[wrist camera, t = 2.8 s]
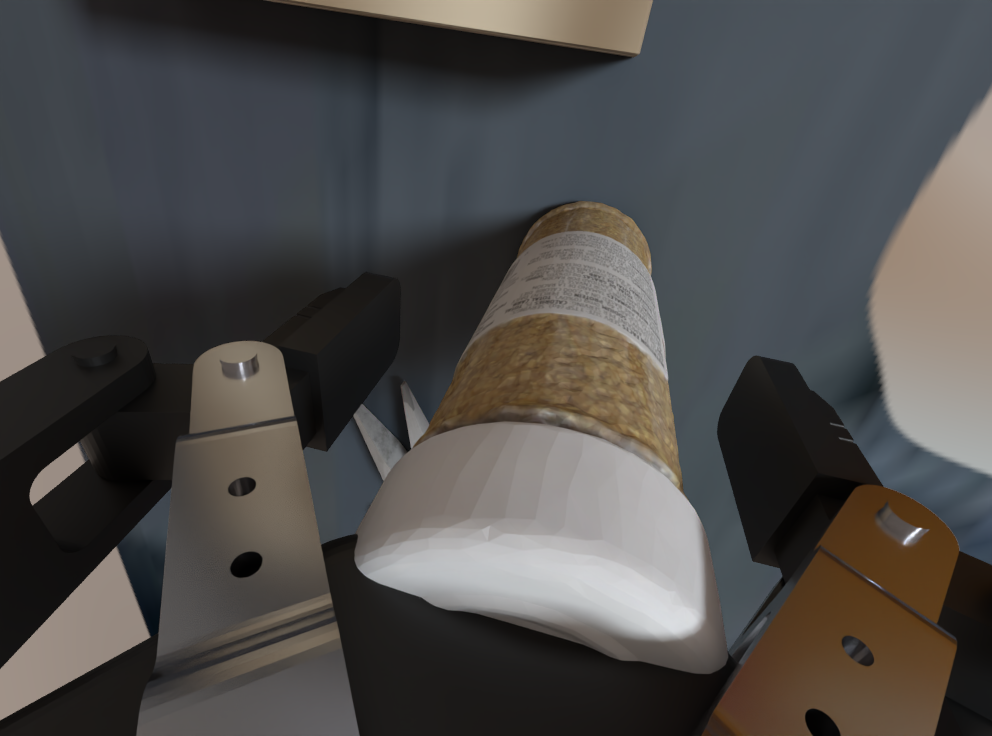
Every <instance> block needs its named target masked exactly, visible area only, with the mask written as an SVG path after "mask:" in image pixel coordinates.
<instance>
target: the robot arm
mask: <svg viewBox="0 0 992 736" xmlns="http://www.w3.org/2000/svg"><path fill="white" fill-rule="evenodd" d="M400 295H401V289H400V283H399V280H398V279H396V278H392V277H387V276H382V275H378V274H373V273H368V272H365V273H364V274H362V275H361V276H360V277H359V278H358V279H356V280H355V281H354V282H353V283H352V284H350V285H349V286H348V287H347V288H346V289H345V288H338V289H335V290H333V291H330V292H327V293H324V294H322V295H320V296H319V297H318V298H316V299H315V300H314V301H313V302H311V303H310V304H309V305H308V307H307V308H306V307H305V308H304V309H302V310H301V311H300V312H299V313H297V316H294V317H292V318H291V319H290V320H289V321H287V322H286V323H285V324H284V325H282V326H281V327H280V328H279V329H277V330H276V331H275V332H274V333H272V334H271V335H270V336H269V337H267V338H266V339H265V340H264V341H262V342H257V341H238V342H231V343H227V344H223V345H220V346H217V347H214V348H212V349H210V350H208V351H207V352H205V353H203V354H202V355H201V356H200V357H199V358H198V359H197V360H196V362H195V363H194V364H157V363H152V360H151V357H150V354H149V351H148V348H147V346H146V345H145V343H144V342H142V341H141V340H139V339H136V338H133V337H128V336H117V335H113V336H99V337H93V338H88V339H84V340H80V341H77V342H74V343H71V344H68V345H66V346H64V347H62V348H60V349H58V350H56V351H54V352H52V353H51V354H49V355H47V356H45V357H43V358H42V359H40V360H38V361H36V362H35V363H33V364H31V365H29V366H27V367H26V368H24V369H22V370H20V371H18V372H17V373H15V374H13V375H12V376H10V377H8V378H6V379H4V380H3V381H1V382H0V669H1V667H2V666H3V665H4V664H5V663H6V662H7V661H8V660H9V659H10V658H11V657H12V656H13V655H14V654H15V653H16V652H17V650H18V649H19V648H20V647H21V646H22V645H23V644H24V643H25V642H26V641H27V640H28V639H29V638H30V637H31V636H32V635H33V634H34V633H35V631H36V630H37V629H38V628H39V627H40V626H41V625H42V624H43V623H44V622H45V621H46V620H47V619H48V618H49V617H50V616H51V615H52V613H53V612H54V611H55V610H56V609H57V608H58V607H59V606H60V605H61V604H62V603H63V602H64V601H65V600H66V599H67V597H69V595H70V594H71V593H72V592H73V591H74V590H75V589H76V588H77V587H78V586H79V585H80V584H81V583H82V582H83V581H84V580H85V579H86V577H87V576H88V575H89V574H90V573H91V572H92V571H93V570H94V569H95V568H96V567H97V566H98V565H99V564H100V563H101V562H102V561H103V559H104V558H105V557H106V556H107V555H108V554H109V553H110V552H111V551H112V550H113V549H114V548H115V547H116V546H117V545H118V544H119V543H120V541H121V540H122V539H123V538H124V537H125V536H126V535H127V534H128V533H129V532H130V531H131V530H132V529H133V528H134V527H135V526H136V525H137V524H138V522H139V521H140V520H141V519H142V518H143V517H144V516H145V515H146V514H147V513H148V512H149V511H150V510H151V509H152V508H153V507H154V506H155V504H156V503H157V502H158V501H159V500H160V499H161V498H162V497H163V496H164V495H165V494H166V493H167V492H168V491H169V490H170V489H171V488H172V489H171V501H170V512H169V523H168V534H167V546H166V557H165V568H164V580H163V591H162V602H161V613H160V625H159V633H158V634H156V635H154V636H152V637H151V638H149V639H147V640H145V641H143V642H142V643H140V644H138V645H136V646H134V647H132V648H131V649H129V650H127V651H125V652H123V653H122V654H120V655H118V656H116V657H114V658H113V659H111V660H109V661H107V662H105V663H104V664H102V665H100V666H98V667H96V668H94V669H93V670H91V671H89V672H87V673H85V674H84V675H82V676H80V677H78V678H77V679H75V680H73V681H71V682H69V683H67V684H66V685H64V686H62V687H60V688H58V689H57V690H55V691H53V692H51V693H49V694H47V695H46V696H44V697H42V698H40V699H38V700H37V701H35V702H33V703H31V704H29V705H28V706H26V707H24V708H22V709H20V710H19V711H17V712H15V713H13V714H11V715H9V716H8V717H6V718H4V719H2V720H0V736H992V565H990V564H988V563H986V562H984V561H981V560H979V559H977V558H974V557H972V556H970V555H968V554H965V553H963V552H961V551H959V545H958V542H957V539H956V537H955V536H954V534H953V533H952V531H951V530H950V529H949V528H948V526H947V525H946V524H945V523H944V522H943V521H942V520H941V519H940V518H939V517H938V516H937V515H935V514H934V513H933V512H932V511H930V510H929V509H928V508H926V507H925V506H923V505H922V504H920V503H919V502H917V501H915V500H914V499H912V498H910V497H908V496H906V495H904V494H902V493H900V492H897V491H895V490H892V489H889V488H886V487H883V485H882V483H881V482H880V480H879V479H878V477H877V476H876V474H875V472H874V471H873V469H872V468H871V466H870V465H869V463H868V461H867V460H866V458H865V457H864V455H863V454H862V452H861V451H860V449H859V447H858V446H857V444H855V443H853V438H852V436H851V435H850V433H849V432H848V430H847V429H845V428H844V424H843V422H842V421H841V419H840V418H839V416H838V415H837V413H836V411H835V410H834V408H833V407H832V406H830V405H829V404H828V403H827V402H826V401H825V400H823V399H822V398H821V397H820V396H819V395H818V394H816V393H815V392H814V391H812V390H810V389H809V387H808V386H807V384H806V382H805V381H804V379H803V377H802V376H801V374H800V372H799V371H798V369H797V367H796V366H795V365H794V364H793V363H789V362H784V361H779V360H775V359H770V358H765V357H761V356H753V357H752V358H751V359H750V360H749V361H748V362H747V364H746V365H745V367H744V369H743V371H742V373H741V375H740V377H739V379H738V381H737V383H736V384H735V386H734V388H733V390H732V392H731V394H730V396H729V398H728V400H727V402H726V404H725V406H724V408H723V410H722V412H721V414H720V417H719V421H718V428H717V435H718V440H719V444H720V447H721V451H722V454H723V458H724V462H725V465H726V469H727V472H728V476H729V479H730V483H731V486H732V490H733V494H734V497H735V501H736V504H737V508H738V511H739V515H740V518H741V522H742V526H743V529H744V533H745V536H746V540H747V543H748V547H749V550H750V554H751V558H752V561H753V562H757V563H761V564H765V565H769V566H773V567H777V568H780V570H781V573H782V577H781V579H780V580H779V581H778V582H777V583H776V585H775V586H774V587H773V588H772V590H771V591H770V593H769V594H768V596H767V597H766V598H765V600H764V601H763V603H762V604H761V606H760V607H759V608H758V610H757V611H756V613H755V614H754V616H753V617H752V618H751V620H750V621H749V623H748V624H747V625H746V627H745V628H744V630H743V631H742V633H741V634H740V635H739V637H738V638H737V640H736V641H735V643H734V644H733V645H732V647H731V648H730V650H729V651H728V659H727V662H726V665H725V666H723V667H722V668H721V669H720V670H718V671H715V672H713V673H711V674H695V673H690V672H685V671H681V670H676V669H672V668H668V667H663V666H659V665H655V664H651V663H647V662H642V661H621V660H618V659H615V658H612V657H609V656H607V655H605V654H603V653H601V652H599V651H597V650H595V649H592V648H590V647H588V646H585V645H583V644H580V643H577V642H573V641H570V640H566V639H563V638H560V637H556V636H553V635H549V634H546V633H543V632H539V631H536V630H532V629H529V628H525V627H522V626H518V625H515V624H512V623H508V622H505V621H501V620H498V619H494V618H491V617H487V616H484V615H480V614H477V613H471V612H465V611H453V610H446V609H443V608H440V607H436V606H434V605H432V604H430V603H429V602H427V601H426V600H424V599H423V598H422V597H419V596H416V595H412V594H409V593H406V592H403V591H400V590H397V589H394V588H391V587H388V586H385V585H382V584H379V583H377V582H375V581H373V580H371V579H370V578H368V577H366V576H365V575H364V574H363V573H362V572H361V571H360V570H359V569H358V568H357V566H356V563H355V560H354V557H355V553H354V551H355V548H356V544H357V540H358V534H353V535H348V536H345V537H341V538H338V539H335V540H331V541H329V542H326V543H324V544H322V545H321V543H320V538H319V532H318V527H317V522H316V517H315V512H314V507H313V502H312V497H311V491H310V486H309V481H308V476H307V471H306V466H305V461H304V455H303V450H304V448H305V447H306V446H307V447H310V448H314V449H318V450H322V451H326V452H327V451H328V449H329V448H330V447H331V445H332V444H333V443H334V441H335V440H336V438H337V437H338V436H339V434H340V433H341V432H342V430H343V429H344V428H345V426H346V425H347V423H348V422H349V421H350V419H351V418H352V417H353V415H354V414H355V413H356V411H357V410H358V409H359V407H360V406H361V404H362V403H363V402H364V400H365V399H366V398H367V396H368V395H369V394H370V392H371V391H372V389H373V388H374V387H375V385H376V384H377V383H378V381H379V380H380V379H381V377H382V376H383V374H384V373H385V372H386V370H387V369H388V368H389V366H390V365H391V364H392V362H393V360H394V359H395V356H396V354H397V350H398V346H399V340H400ZM79 441H80V442H81V444H82V446H83V448H84V450H85V452H86V454H87V456H88V458H89V460H88V461H87V462H85V463H84V464H83V465H82V466H81V467H79V468H78V469H77V470H76V471H74V472H73V473H72V474H71V475H70V476H68V477H67V478H66V479H65V480H64V481H62V482H61V483H60V484H59V485H57V486H56V487H55V488H54V489H52V490H51V491H50V492H49V493H48V494H46V495H45V496H44V497H43V498H42V499H40V500H39V501H38V502H37V503H35V504H34V505H33V506H32V504H31V502H30V498H29V493H30V488H31V486H32V483H33V481H34V479H35V478H36V477H37V475H38V474H39V473H40V472H41V471H42V470H43V469H44V468H45V467H46V466H47V465H49V464H50V463H51V462H52V461H54V460H55V459H57V458H58V457H59V456H61V455H62V454H63V453H64V452H66V451H67V450H68V449H70V448H71V447H72V446H74V445H75V444H76V443H77V442H79Z"/></svg>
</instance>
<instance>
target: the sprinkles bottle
mask: <svg viewBox="0 0 992 736" xmlns="http://www.w3.org/2000/svg"><path fill="white" fill-rule="evenodd" d="M651 271H652V266H651V255H650V251H649V248H648V244H647V242H646V239H645V237H644V236H643V234H642V233H641V231H640V229H639V228H638V227H637V225H636V224H635V222H634V221H633V220H632V219H631V218H630V217H628V216H627V215H625V214H623V213H621V212H620V211H619V210H617V209H616V208H613V207H610V206H607V205H605V204H602V203H598V202H587V201H578V202H575V203H570V204H565V205H562V206H560V207H558V208H555V209H553V210H551V211H550V212H548V213H547V214H545V215H544V216H542V217H541V218H540V219H539V220H538V221H536V222H535V223H534V224H533V225H532V227H531V228H530V230H529V231H528V233H527V235H526V236H525V237H524V239H523V242H522V244H521V246H520V249H519V252H518V256H517V259H516V260H515V261H514V262H513V264H512V265H511V267H510V268H509V270H508V272H507V274H506V276H505V277H504V279H503V281H502V283H501V285H500V286H499V288H498V290H497V292H496V294H495V296H494V297H493V299H492V301H491V303H490V305H489V307H488V309H487V311H486V312H485V314H484V316H483V318H482V320H481V322H480V323H479V325H478V327H477V329H476V331H475V332H474V334H473V336H472V338H471V340H470V341H469V343H468V345H467V347H466V349H465V351H464V352H463V354H462V356H461V358H460V360H459V362H458V364H457V366H456V369H455V373H454V376H453V380H452V383H451V385H450V386H449V388H448V390H447V392H446V394H445V396H444V398H443V400H442V401H441V404H440V406H439V408H438V410H437V411H436V413H435V414H434V416H433V418H432V420H431V422H430V424H429V427H428V429H427V430H426V432H425V434H423V435H422V436H421V437H420V438H419V440H418V441H417V442H416V443H415V444H414V446H413V448H412V449H411V450H410V451H409V452H408V453H406V454H405V455H404V456H403V457H402V458H401V459H400V460H399V461H398V462H397V463H396V464H395V465H394V467H393V468H392V469H391V471H390V472H389V473H388V475H387V477H386V479H385V480H384V482H383V484H382V486H381V487H380V489H379V491H378V493H377V495H376V496H375V498H374V500H373V502H372V504H371V505H370V507H369V509H368V511H367V513H366V514H365V516H364V518H363V520H362V522H361V523H360V525H359V527H358V529H357V531H356V533H355V534H358V540H357V544H356V548H355V551H354V553H355V557H354V560H355V563H356V566H357V568H358V569H359V570H360V571H361V572H362V573H363V574H364V575H365V576H366V577H368V578H370V579H371V580H373V581H375V582H377V583H379V584H382V585H385V586H388V587H391V588H394V589H397V590H400V591H403V592H406V593H409V594H412V595H416V596H419V597H422V598H423V599H424V600H426V601H427V602H429V603H430V604H432V605H434V606H436V607H440V608H443V609H446V610H453V611H465V612H471V613H477V614H480V615H484V616H487V617H491V618H494V619H498V620H501V621H505V622H508V623H512V624H515V625H518V626H522V627H525V628H529V629H532V630H536V631H539V632H543V633H546V634H549V635H553V636H556V637H560V638H563V639H566V640H570V641H573V642H577V643H580V644H583V645H585V646H588V647H590V648H592V649H595V650H597V651H599V652H601V653H603V654H605V655H607V656H609V657H612V658H615V659H618V660H621V661H642V662H647V663H651V664H655V665H659V666H663V667H668V668H672V669H676V670H681V671H685V672H690V673H695V674H711V673H713V672H715V671H718V670H720V669H721V668H722V667H723V666H725V665H726V662H727V659H728V650H727V644H726V637H725V631H724V625H723V618H722V612H721V606H720V599H719V594H718V589H717V584H716V579H715V574H714V569H713V563H712V558H711V553H710V548H709V544H708V539H707V535H706V533H705V530H704V527H703V525H702V523H701V521H700V519H699V517H698V515H697V513H696V511H695V509H694V508H693V507H692V505H691V504H690V503H689V500H688V498H687V497H686V495H685V494H684V492H683V483H682V473H681V469H680V465H679V458H678V447H677V440H676V437H675V436H676V435H675V428H674V416H673V413H672V408H671V399H670V394H669V386H668V373H667V366H666V361H665V342H664V336H663V330H662V324H661V319H660V314H659V309H658V303H657V297H656V292H655V287H654V284H653V281H652V278H651Z"/></svg>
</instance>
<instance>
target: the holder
mask: <svg viewBox="0 0 992 736" xmlns="http://www.w3.org/2000/svg"><path fill="white" fill-rule="evenodd" d="M265 1H271V2H278V3H284V4H291V5H297V6H304V7H310V8H317V9H323V10H330V11H336V12H343V13H349V14H355V15H362V16H368V17H375V18H381V19H388V20H394V21H401V22H407V23H414V24H420V25H427V26H433V27H440V28H446V29H453V30H459V31H466V32H472V33H479V34H485V35H491V36H498V37H504V38H511V39H517V40H524V41H530V42H537V43H543V44H550V45H556V46H563V47H569V48H576V49H582V50H589V51H595V52H602V53H608V54H614V55H621V56H627V57H635V56H637V55H638V54H640V50H641V46H642V42H643V38H644V34H645V30H646V26H647V22H648V18H649V14H650V10H651V6H652V2H653V0H265Z"/></svg>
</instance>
